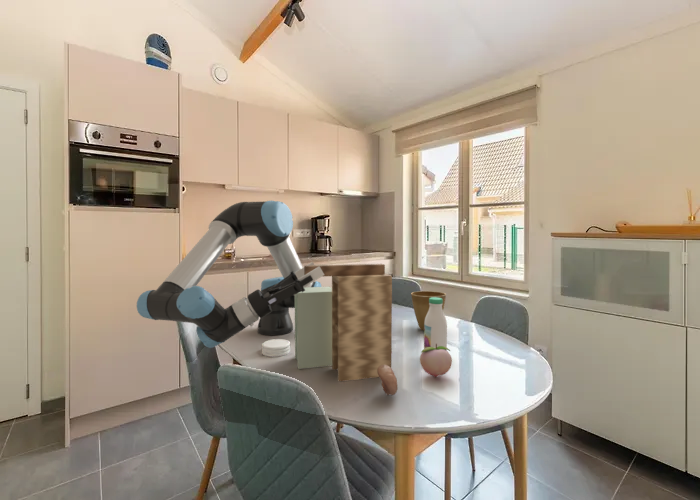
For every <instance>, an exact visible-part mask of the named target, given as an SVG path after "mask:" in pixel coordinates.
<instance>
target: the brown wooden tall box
mask: <svg viewBox="0 0 700 500" xmlns="http://www.w3.org/2000/svg"><path fill="white" fill-rule="evenodd" d="M331 288H332V366H331V368H332V370H333V371H337V380H338V382H345V381H354V380H355V381H356V380H363V379H364V380H365V379H373V378H380V377H379V375H378V372H377V369H378V367H379V366H381V365H388V366H389V367H391V368H392V354H393V353H392V350H393V349H392V337H393V336H392V331H393V330H392V329H393V327H392V326H393V325H392V322H393V321H392V320H393V319H392V318H393V316H392V315H393V303H392V302H393V275H390V274H388V273H385V274H384V275H354V276H331Z"/></svg>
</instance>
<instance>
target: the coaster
mask: <svg viewBox="0 0 700 500" xmlns="http://www.w3.org/2000/svg"><path fill="white" fill-rule="evenodd" d="M289 353H291V342H290V340H288V339H284V338H274V339H268V340H266V341H263V343H262V344H261V354H262V355H263V356H265V357H269V358H270V357H272V358H274V357H276V358H278V357H283V356H285V355H288V354H289Z"/></svg>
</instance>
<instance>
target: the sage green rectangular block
mask: <svg viewBox="0 0 700 500" xmlns="http://www.w3.org/2000/svg"><path fill="white" fill-rule="evenodd" d="M304 289H305V291H303V292H302V291H301V292H299V293H297V294H295V308H294V358H295V360H297V370H303V369H310V368H311V369H312V368H313V369H315V368H321V367H332V286H331V287H330V286H321V287H307V288H304Z"/></svg>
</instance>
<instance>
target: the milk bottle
mask: <svg viewBox="0 0 700 500" xmlns="http://www.w3.org/2000/svg"><path fill="white" fill-rule="evenodd" d="M442 303H443V299H442V298H438V297H432V298H429V305H430V307H429V311H428V313H427V315H426V317H425V322H424V331H423V349H425V348H427V347H436V344H437V347H438V346H444V347H447V346H448V343H447V342H448V329H447V328H448V324H447V323H448V322H447V317H446V316H445V315H446V314H445V312H444V309H443V310H442V305H443V304H442ZM447 348H448V347H447Z"/></svg>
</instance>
